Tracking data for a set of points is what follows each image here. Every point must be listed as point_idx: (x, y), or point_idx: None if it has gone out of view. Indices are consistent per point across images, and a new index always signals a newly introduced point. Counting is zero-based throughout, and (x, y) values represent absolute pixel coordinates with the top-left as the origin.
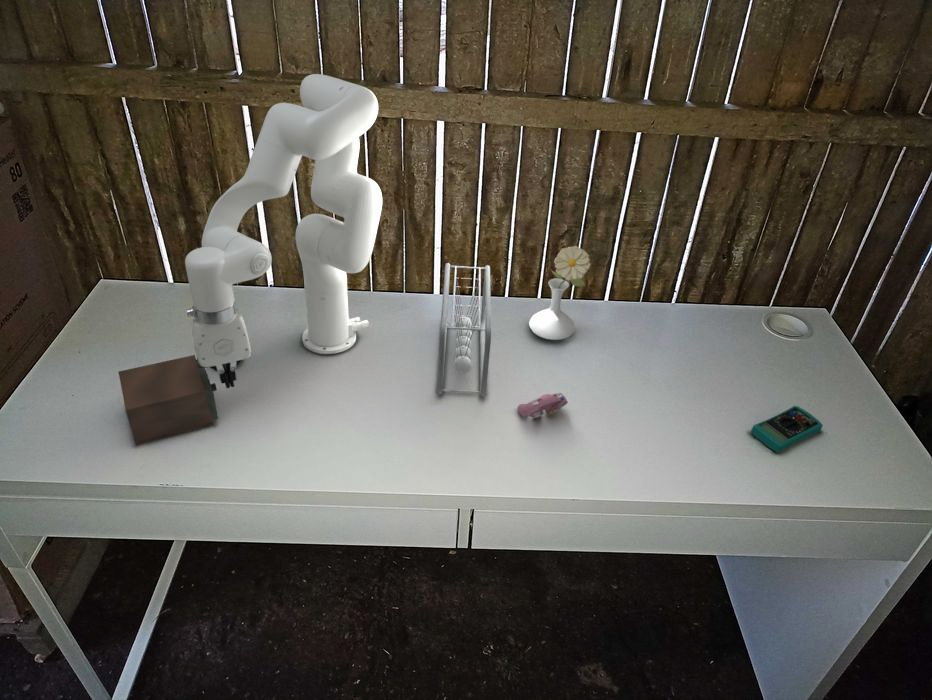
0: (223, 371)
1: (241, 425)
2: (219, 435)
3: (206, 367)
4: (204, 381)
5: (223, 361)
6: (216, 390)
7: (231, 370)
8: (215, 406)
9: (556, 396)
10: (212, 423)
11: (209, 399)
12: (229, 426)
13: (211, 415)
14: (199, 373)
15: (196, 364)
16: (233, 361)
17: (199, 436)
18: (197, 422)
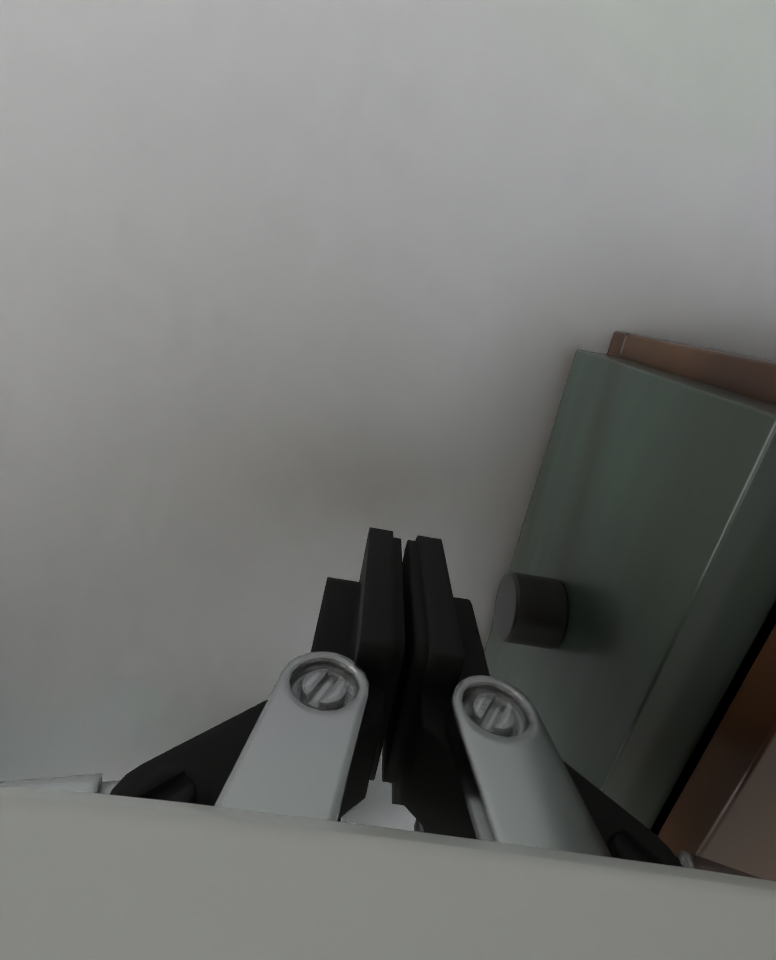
0: (462, 698)
1: (450, 207)
2: (640, 188)
3: (701, 864)
4: (732, 654)
5: (571, 954)
6: (510, 572)
7: (356, 669)
8: (635, 369)
9: None
10: (626, 333)
11: (745, 398)
12: (528, 251)
13: (659, 343)
14: (754, 797)
15: None
16: (283, 824)
17: (754, 267)
18: (755, 357)
